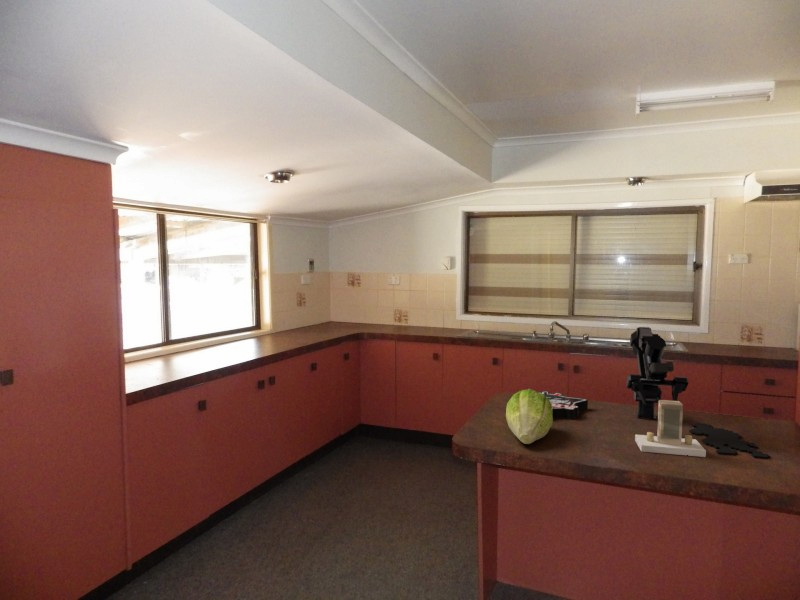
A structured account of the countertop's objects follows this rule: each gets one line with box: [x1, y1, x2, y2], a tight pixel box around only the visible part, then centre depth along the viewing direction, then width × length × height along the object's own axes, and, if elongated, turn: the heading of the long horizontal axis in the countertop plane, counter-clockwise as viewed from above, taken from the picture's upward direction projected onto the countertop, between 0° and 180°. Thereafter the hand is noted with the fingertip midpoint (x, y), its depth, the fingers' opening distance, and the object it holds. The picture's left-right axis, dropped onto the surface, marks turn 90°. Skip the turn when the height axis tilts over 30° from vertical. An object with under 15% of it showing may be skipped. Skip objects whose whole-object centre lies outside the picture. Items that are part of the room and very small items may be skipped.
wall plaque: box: [538, 390, 589, 420], centre depth 199 cm, size 28×4×30 cm
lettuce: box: [505, 388, 554, 445], centre depth 170 cm, size 15×24×16 cm
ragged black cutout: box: [688, 422, 771, 460], centre depth 166 cm, size 16×1×30 cm
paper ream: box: [656, 399, 684, 445], centre depth 158 cm, size 4×6×13 cm
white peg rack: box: [634, 431, 707, 458], centre depth 158 cm, size 10×18×4 cm, turn 75°
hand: (660, 404), depth 168 cm, fingers open, 9 cm apart
